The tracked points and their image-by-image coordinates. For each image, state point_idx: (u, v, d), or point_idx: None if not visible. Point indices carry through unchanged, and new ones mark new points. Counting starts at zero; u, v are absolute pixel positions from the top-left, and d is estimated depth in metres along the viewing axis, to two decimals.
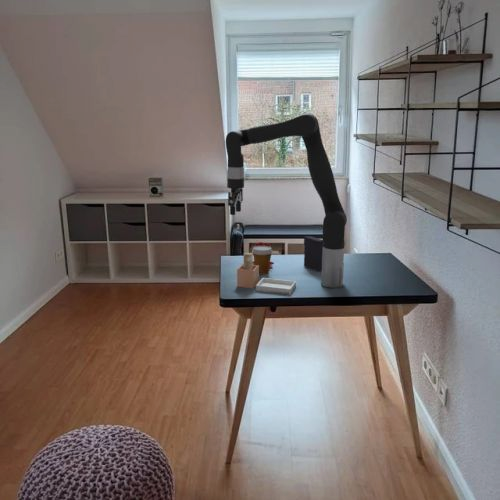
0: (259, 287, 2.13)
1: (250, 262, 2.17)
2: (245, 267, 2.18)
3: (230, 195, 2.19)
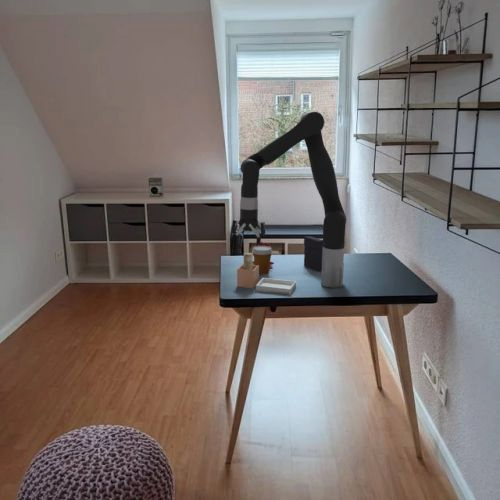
0: (259, 287, 2.13)
1: (250, 262, 2.17)
2: (245, 267, 2.18)
3: (264, 225, 2.13)
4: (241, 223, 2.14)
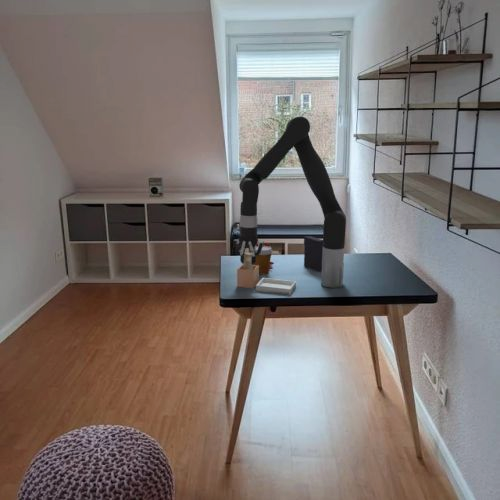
0: (259, 287, 2.13)
1: (250, 262, 2.17)
2: (245, 267, 2.18)
3: (262, 245, 2.15)
4: (241, 242, 2.16)
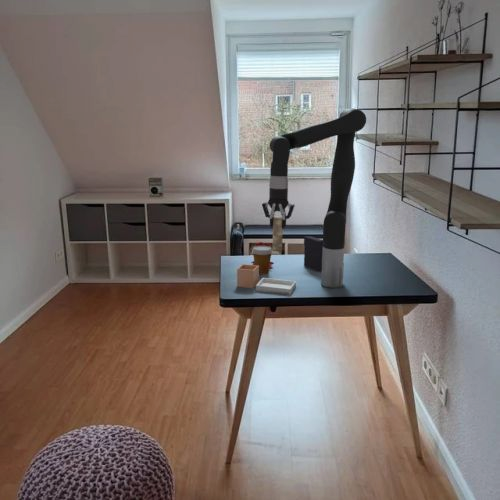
0: (259, 287, 2.13)
1: (280, 226, 2.08)
2: (275, 231, 2.09)
3: (293, 208, 2.06)
4: (270, 205, 2.07)
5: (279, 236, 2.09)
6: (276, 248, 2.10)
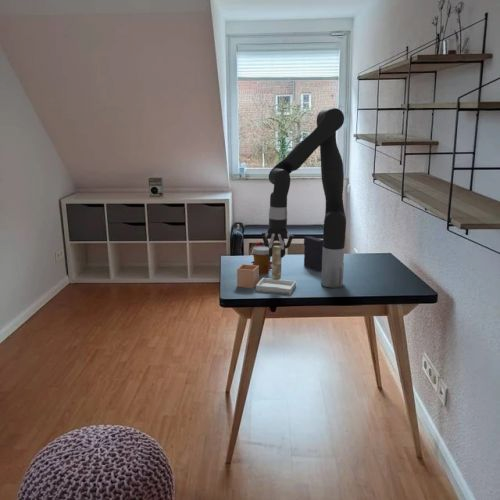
0: (259, 287, 2.13)
1: (279, 255, 2.12)
2: (274, 260, 2.12)
3: (292, 238, 2.09)
4: (270, 234, 2.11)
5: (278, 265, 2.12)
6: (275, 277, 2.14)
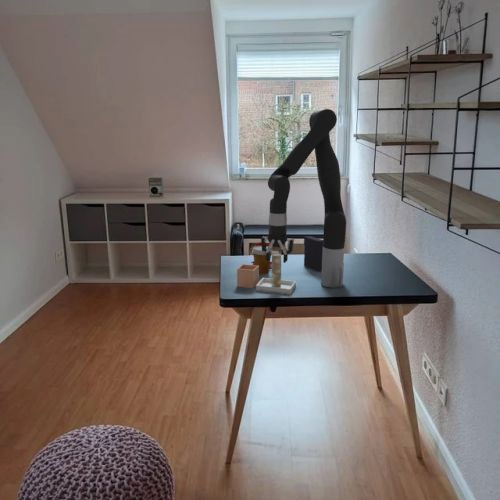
0: (259, 287, 2.13)
1: (279, 264, 2.12)
2: (273, 269, 2.13)
3: (292, 242, 2.10)
4: (269, 240, 2.11)
5: (277, 274, 2.13)
6: (275, 285, 2.15)
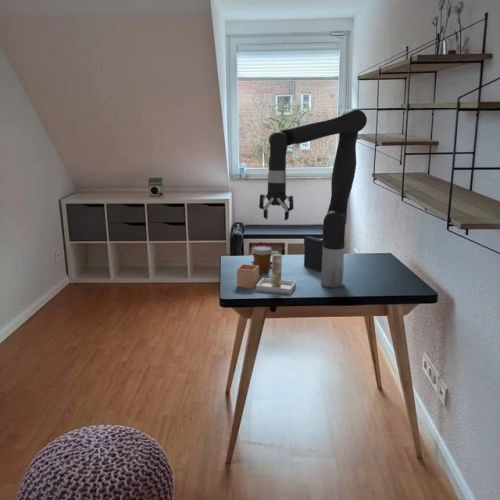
0: (259, 287, 2.13)
1: (279, 264, 2.13)
2: (274, 269, 2.13)
3: (292, 199, 2.08)
4: (269, 197, 2.10)
5: (278, 274, 2.13)
6: (275, 285, 2.15)
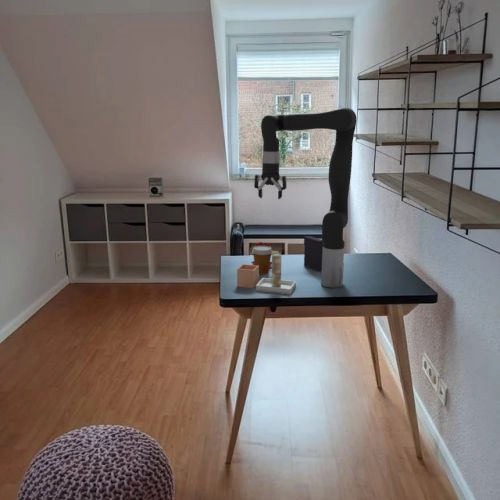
0: (259, 287, 2.13)
1: (279, 264, 2.12)
2: (273, 269, 2.13)
3: (285, 178, 2.21)
4: (263, 177, 2.23)
5: (277, 274, 2.13)
6: (275, 285, 2.15)
